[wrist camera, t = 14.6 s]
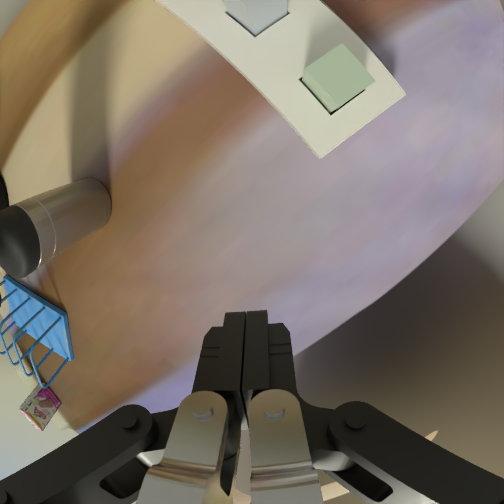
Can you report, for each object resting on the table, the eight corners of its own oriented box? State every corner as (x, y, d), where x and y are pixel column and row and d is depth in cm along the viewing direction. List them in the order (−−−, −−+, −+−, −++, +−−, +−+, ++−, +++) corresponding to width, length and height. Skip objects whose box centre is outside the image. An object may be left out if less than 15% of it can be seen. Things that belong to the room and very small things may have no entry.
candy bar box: (62, 403, 77) (43, 432, 62) (55, 401, 78) (36, 428, 63) (46, 382, 73) (24, 411, 58) (39, 380, 74) (18, 408, 59)
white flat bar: (393, 97, 31) (410, 91, 25) (315, 155, 36) (320, 158, 30) (218, -55, 23) (209, -73, 17) (148, -4, 28) (131, -17, 22)
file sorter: (16, 319, 61) (-13, 347, 47) (7, 273, 54) (-30, 299, 40) (74, 358, 62) (45, 395, 48) (67, 312, 55) (29, 350, 40)
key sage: (353, 94, 31) (375, 81, 22) (325, 115, 32) (339, 107, 23) (328, 66, 30) (342, 43, 20) (300, 86, 31) (304, 68, 22)
